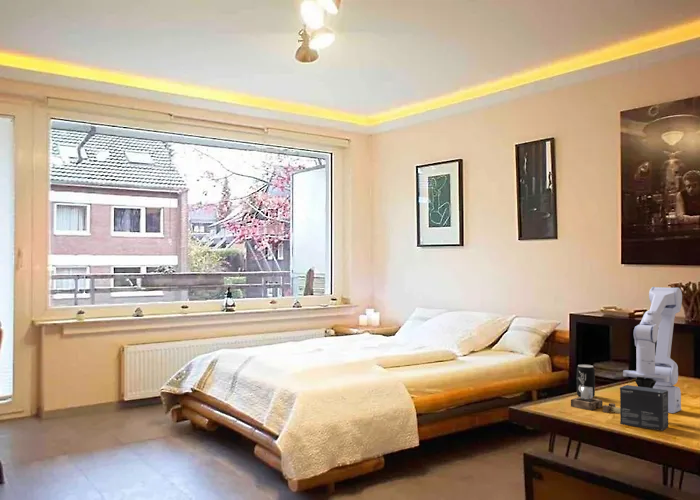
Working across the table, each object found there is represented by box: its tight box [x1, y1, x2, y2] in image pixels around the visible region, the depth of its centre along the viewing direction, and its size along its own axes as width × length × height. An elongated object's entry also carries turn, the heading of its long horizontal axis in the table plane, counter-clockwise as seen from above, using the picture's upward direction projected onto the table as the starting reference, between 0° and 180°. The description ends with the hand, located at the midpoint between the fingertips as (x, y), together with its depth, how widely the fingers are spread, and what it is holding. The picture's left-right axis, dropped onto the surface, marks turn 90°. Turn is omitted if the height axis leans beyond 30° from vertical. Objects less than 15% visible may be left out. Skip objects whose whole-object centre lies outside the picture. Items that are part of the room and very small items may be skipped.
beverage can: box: [576, 364, 596, 398], centre depth 239 cm, size 7×7×12 cm
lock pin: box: [610, 406, 620, 414], centre depth 213 cm, size 9×2×4 cm, turn 42°
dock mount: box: [570, 396, 616, 414], centre depth 220 cm, size 13×8×2 cm, turn 42°
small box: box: [619, 384, 669, 432], centre depth 197 cm, size 13×7×12 cm, turn 48°
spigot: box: [581, 386, 594, 402], centre depth 223 cm, size 4×4×7 cm
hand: (645, 400), depth 207 cm, fingers closed
